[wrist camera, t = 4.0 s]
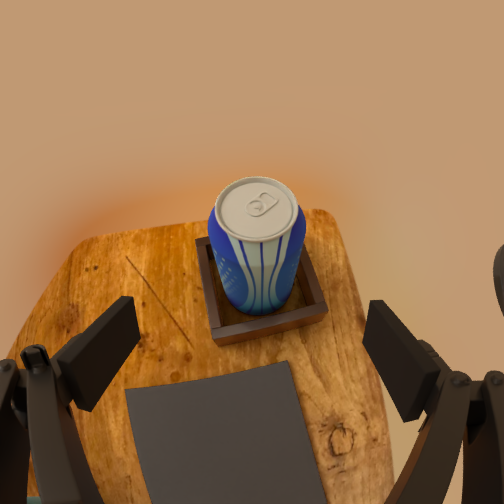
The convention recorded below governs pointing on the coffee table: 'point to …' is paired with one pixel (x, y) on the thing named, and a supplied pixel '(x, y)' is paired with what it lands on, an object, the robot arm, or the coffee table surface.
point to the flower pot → (33, 500)
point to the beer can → (257, 243)
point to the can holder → (267, 324)
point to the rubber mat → (225, 440)
